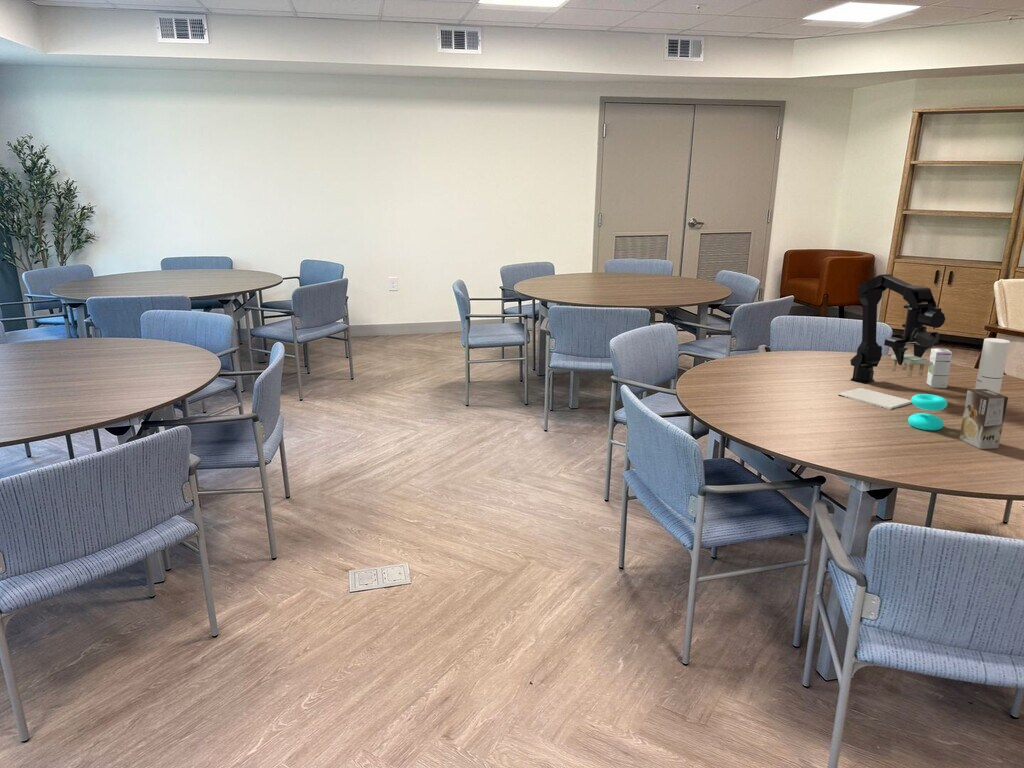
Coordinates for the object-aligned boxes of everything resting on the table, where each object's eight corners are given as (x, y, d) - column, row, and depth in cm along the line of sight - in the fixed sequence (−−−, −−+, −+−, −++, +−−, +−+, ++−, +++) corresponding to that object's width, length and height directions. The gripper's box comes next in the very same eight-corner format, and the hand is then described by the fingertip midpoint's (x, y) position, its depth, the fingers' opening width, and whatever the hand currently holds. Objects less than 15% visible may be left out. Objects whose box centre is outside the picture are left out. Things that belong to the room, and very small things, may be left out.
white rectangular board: (837, 395, 253) (838, 393, 253) (860, 389, 260) (860, 387, 260) (889, 409, 236) (890, 407, 236) (912, 402, 243) (912, 400, 243)
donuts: (955, 402, 212) (922, 402, 212) (949, 431, 215) (917, 431, 215) (936, 392, 222) (905, 392, 222) (931, 421, 224) (901, 421, 225)
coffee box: (999, 448, 201) (1010, 397, 196) (979, 449, 200) (989, 398, 196) (976, 437, 209) (986, 388, 205) (957, 438, 209) (966, 389, 204)
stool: (889, 370, 251) (891, 354, 249) (903, 368, 253) (906, 353, 251) (910, 377, 242) (912, 361, 240) (925, 375, 243) (927, 359, 242)
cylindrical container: (988, 414, 230) (1002, 343, 223) (966, 409, 236) (979, 339, 229) (1000, 411, 233) (1014, 341, 226) (978, 406, 239) (991, 337, 232)
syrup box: (947, 388, 260) (953, 351, 256) (930, 387, 261) (936, 351, 257) (941, 384, 265) (947, 348, 261) (924, 383, 267) (930, 348, 263)
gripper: (910, 328, 232) (903, 371, 237) (955, 325, 236) (947, 368, 241) (886, 322, 243) (880, 364, 247) (929, 319, 247) (922, 360, 251)
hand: (908, 364), depth 246 cm, fingers closed on stool, 6 cm apart
